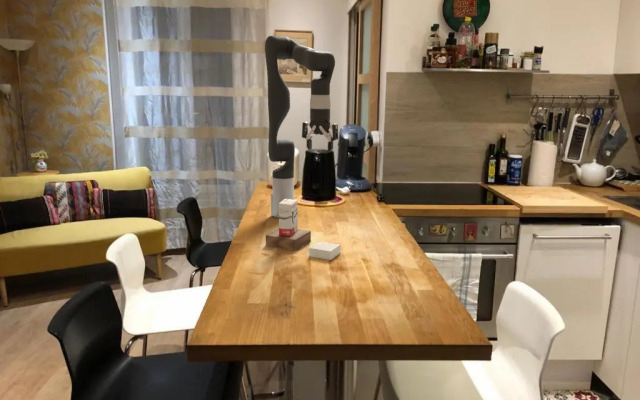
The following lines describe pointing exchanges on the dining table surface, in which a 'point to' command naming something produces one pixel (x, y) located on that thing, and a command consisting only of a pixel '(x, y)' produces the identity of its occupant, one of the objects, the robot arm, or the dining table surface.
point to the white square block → (324, 250)
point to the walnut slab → (288, 239)
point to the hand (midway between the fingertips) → (319, 150)
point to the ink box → (288, 217)
